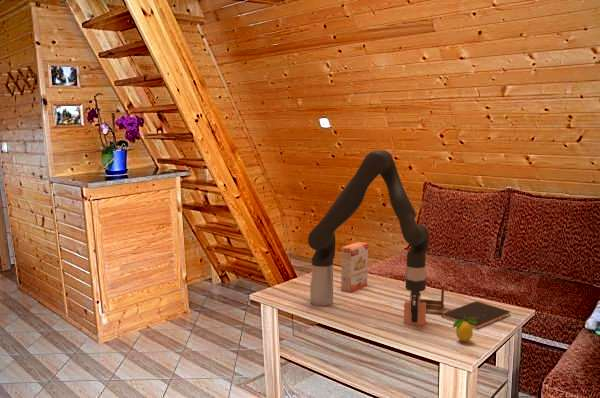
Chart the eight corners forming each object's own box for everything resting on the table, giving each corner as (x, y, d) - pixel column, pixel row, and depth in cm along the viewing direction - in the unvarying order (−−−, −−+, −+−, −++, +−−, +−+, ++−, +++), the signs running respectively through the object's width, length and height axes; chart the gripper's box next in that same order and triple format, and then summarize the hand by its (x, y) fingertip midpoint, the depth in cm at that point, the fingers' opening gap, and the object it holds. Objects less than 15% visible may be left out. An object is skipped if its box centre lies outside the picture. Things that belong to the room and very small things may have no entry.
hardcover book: (510, 316, 204) (510, 311, 203) (476, 331, 190) (476, 325, 189) (475, 305, 216) (475, 300, 216) (441, 318, 202) (441, 313, 202)
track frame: (410, 312, 208) (410, 286, 207) (412, 302, 220) (412, 277, 218) (443, 315, 205) (443, 288, 203) (443, 304, 216) (444, 279, 214)
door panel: (403, 323, 197) (404, 303, 196) (404, 320, 200) (404, 300, 198) (425, 325, 194) (425, 305, 193) (425, 322, 197) (426, 302, 196)
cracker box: (351, 293, 232) (351, 248, 229) (340, 290, 236) (340, 246, 233) (368, 285, 243) (368, 242, 240) (357, 283, 247) (358, 241, 244)
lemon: (476, 341, 180) (477, 314, 178) (470, 346, 175) (471, 319, 174) (458, 336, 184) (458, 310, 183) (451, 342, 179) (452, 314, 178)
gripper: (407, 271, 202) (406, 312, 205) (404, 281, 189) (403, 326, 191) (426, 272, 200) (425, 314, 202) (424, 283, 187) (423, 328, 189)
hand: (414, 319), depth 197 cm, fingers closed on door panel, 3 cm apart
